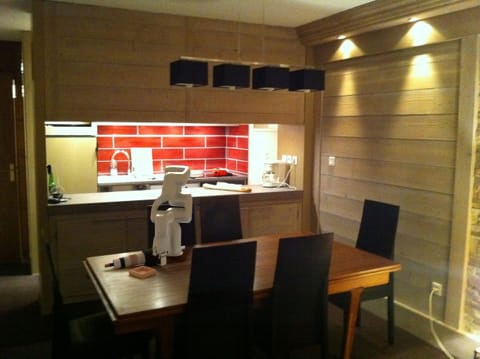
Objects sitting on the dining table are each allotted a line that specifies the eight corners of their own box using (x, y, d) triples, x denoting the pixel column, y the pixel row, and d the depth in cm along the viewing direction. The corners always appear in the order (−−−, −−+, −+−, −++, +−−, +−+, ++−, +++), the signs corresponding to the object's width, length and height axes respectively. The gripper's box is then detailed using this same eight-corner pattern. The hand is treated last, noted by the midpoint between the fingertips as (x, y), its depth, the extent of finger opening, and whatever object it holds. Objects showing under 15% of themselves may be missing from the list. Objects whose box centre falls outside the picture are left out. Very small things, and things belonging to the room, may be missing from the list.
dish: (143, 270, 271) (143, 265, 270) (156, 273, 265) (156, 269, 264) (129, 274, 262) (129, 270, 261) (142, 278, 256) (142, 274, 255)
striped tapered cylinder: (105, 275, 272) (102, 259, 275) (159, 264, 286) (156, 248, 289) (107, 273, 263) (104, 256, 266) (162, 261, 278) (159, 245, 280)
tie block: (161, 262, 278) (161, 251, 277) (166, 264, 275) (166, 253, 274) (156, 264, 274) (156, 253, 273) (161, 265, 272) (161, 254, 271)
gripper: (166, 230, 281) (166, 258, 284) (146, 236, 267) (147, 265, 270) (175, 232, 276) (175, 260, 279) (155, 238, 263) (155, 268, 266)
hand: (161, 262), depth 275 cm, fingers closed on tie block, 4 cm apart
